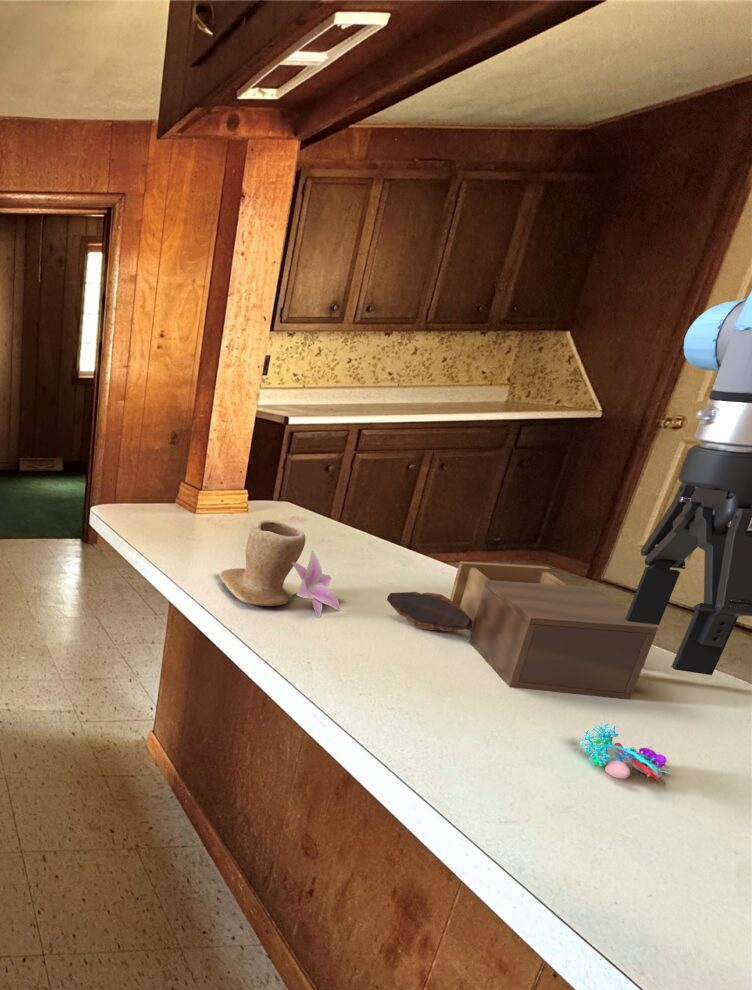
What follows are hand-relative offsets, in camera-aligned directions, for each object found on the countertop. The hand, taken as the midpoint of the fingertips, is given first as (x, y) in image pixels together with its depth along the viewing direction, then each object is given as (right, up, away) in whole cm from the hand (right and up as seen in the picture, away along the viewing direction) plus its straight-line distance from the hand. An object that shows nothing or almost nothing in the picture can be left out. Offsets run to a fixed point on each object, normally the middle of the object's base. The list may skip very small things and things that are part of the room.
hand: (664, 644), depth 72 cm
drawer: (+17, +1, +42) cm, 45 cm away
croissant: (+3, +4, +40) cm, 41 cm away
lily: (-11, +3, +52) cm, 53 cm away
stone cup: (-17, +5, +58) cm, 61 cm away
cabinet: (+12, -5, +28) cm, 31 cm away
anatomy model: (0, -15, +4) cm, 16 cm away
